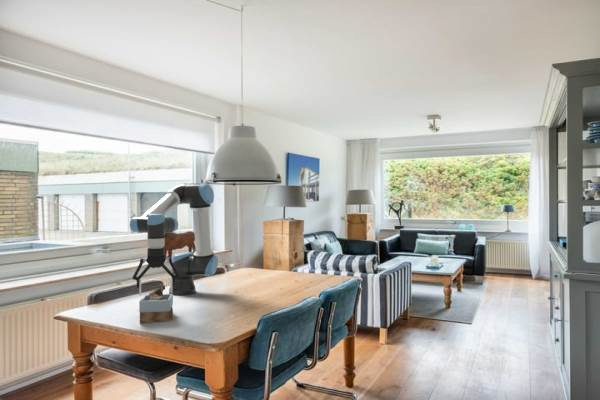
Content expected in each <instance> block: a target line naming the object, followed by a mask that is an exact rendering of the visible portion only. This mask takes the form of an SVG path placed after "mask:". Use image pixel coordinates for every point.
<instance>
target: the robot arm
mask: <svg viewBox="0 0 600 400" xmlns="http://www.w3.org/2000/svg"><path fill="white" fill-rule="evenodd" d="M214 199H215V194H214V189H213V188H212V186H211V185H210V184H208V183H203V182H202V183H201V182H200V183H199V182H197V183H196V182H195V183H180V184H177V185H175V186H174V187H172V188H170V189H168V191H166V192H165V193H164V195H163V197H162V198H161V199H160V200H158V201H157V203H155V204H154V205H152V207H149V209H148V210H147V211H145V213H143V214H142V215H141V216H140V217H139V216H137V217H135V216H134V217H132V218H131V219H130V222H129V228H130V230H131V232H133V233H139V234H140V233H147V239H146V240H147V241H146V242H147V244H146V245H147V246H146V247H148V248H147V253H146V254H147V256H146V258H143V257H141V258H140V260H139V264H138V266H137V268H136V269H135V271H134V274H133V275H132V280H133V281H134V280H135V281H136V288H138V290H139V291H138V292H139V296H142V277H144V275H145V274H146V273H147V272H148V271H149V269H151V268H152V269H155V268H158V269H160V268H162V269H163V270H164V271H165V272H166V273H167V274H168V275H169V276H170V278H169V279H170V286H169V289H168V291H169V292H168V294H173V296H185V295H191V294H195V293H196V292H197V290H196V285H195V282H194V279H193V278H194V276H202V277H203V276H205V277H206V276H207V277H208V276H209V277H210V276H213V275H214V274H216V271H217V269H218V266H219V265H218V264H219V258H218V256H217V255H215V253H214V250H212V248H211V247H212V246H211V232H210V220H209V219H210V217H209V209H210V208H211V207H212V205H211V204H213V203H214ZM183 204H185V205H189V208H190V209H191V210H192V214H193V215H192V216H193V227H194V228H193V232H194V243H195V251H194V252H191V251H190V252H183V253H177V254H174V255H173V256H172V257H171V256H168V257H165V255H166V254H165V252H166V251H165V250H166V249H165V241H166V240H165V238H166V237H165V235H166V234H168V233H169V234H171V233H174V232H176V231H177V229H178V228H179V222H178V220H177V219H176V218H175V217H173V216H168V217H167V216H166V215H167V214H168V213H169V212H170V211H171V210H172V209H173V208H176V207H178V206H179V205H183ZM165 216H166V217H165ZM165 262H167V263H169V265H170V267H171V269H172V270H170V269H169V268H168V267H167V266H166V265H165ZM145 263H147V265H146V267H144V269H143V270H142V271H141V273H140V274H139V272H140V270H141V268H142V266H143V264H145ZM138 274H139V275H138Z"/></svg>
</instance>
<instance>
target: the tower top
mask: <svg viewBox="0 0 600 400" xmlns="http://www.w3.org/2000/svg"><path fill="white" fill-rule="evenodd" d="M162 297H164V300H150V297H149V294H144V295H143V296H142V297H141V299H140V300H139V304H138V305H139V308H138V309H139V310H138V311H139V313H138V314H140V313H143V312H164V311H170V310H171V307H172V308H173V305H174V295H173V294H169V293H166V294H165V293H163V296H162Z"/></svg>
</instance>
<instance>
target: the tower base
mask: <svg viewBox="0 0 600 400" xmlns="http://www.w3.org/2000/svg"><path fill="white" fill-rule="evenodd" d="M173 321H174V310H173V306H172V307H171V310H170V311H164V312H143V313H139V325H140V324H151V323H153V322H154V323H163V322H173Z"/></svg>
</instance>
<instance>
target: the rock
mask: <svg viewBox="0 0 600 400" xmlns="http://www.w3.org/2000/svg"><path fill="white" fill-rule="evenodd" d="M165 290H166V286H165V284H162V285H160V286H159V287H156V288H155V289H154V290H152V291H150V292H149V293H148V295H149V297H150V300H164V297H162V296H163V294H164V293H163V292H164V291H165Z"/></svg>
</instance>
